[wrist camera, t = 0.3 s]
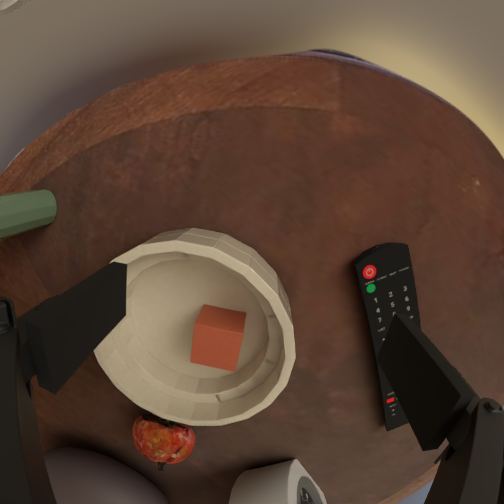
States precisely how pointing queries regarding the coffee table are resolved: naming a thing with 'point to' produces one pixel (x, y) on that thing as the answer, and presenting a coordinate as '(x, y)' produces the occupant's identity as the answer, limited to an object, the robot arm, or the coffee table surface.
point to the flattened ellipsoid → (96, 479)
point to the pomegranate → (163, 439)
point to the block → (217, 337)
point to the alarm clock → (276, 486)
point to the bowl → (182, 326)
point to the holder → (26, 211)
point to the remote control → (387, 307)
